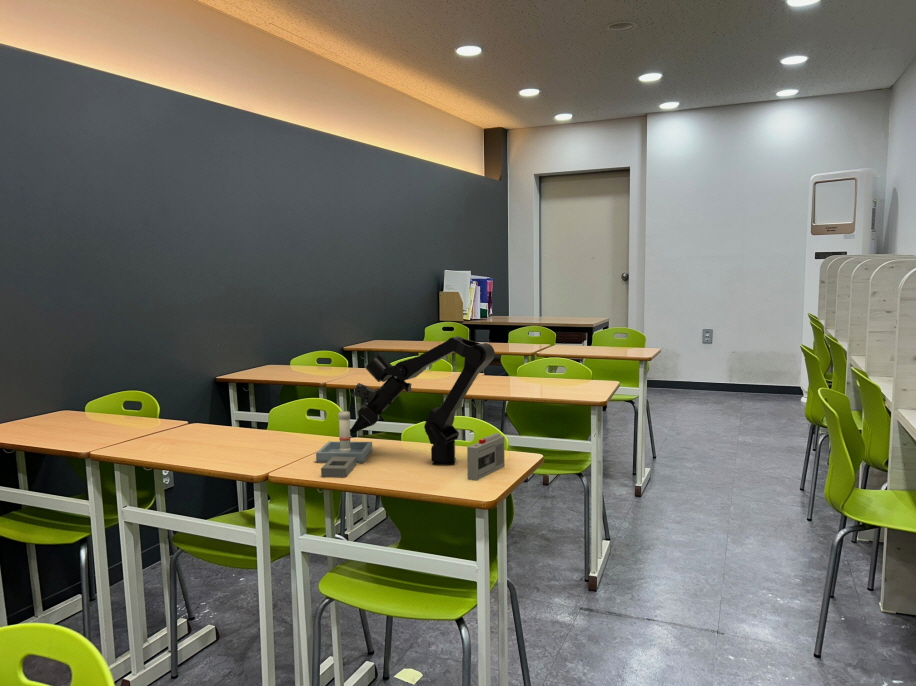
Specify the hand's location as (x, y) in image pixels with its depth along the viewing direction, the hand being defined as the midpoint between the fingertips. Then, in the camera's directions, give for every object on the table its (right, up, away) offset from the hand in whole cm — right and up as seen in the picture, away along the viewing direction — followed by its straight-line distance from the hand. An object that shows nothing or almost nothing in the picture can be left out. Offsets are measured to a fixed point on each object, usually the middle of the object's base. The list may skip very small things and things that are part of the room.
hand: (352, 429), depth 200 cm
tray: (-3, -9, +1) cm, 9 cm away
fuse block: (-2, -10, -14) cm, 17 cm away
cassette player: (+40, -10, -17) cm, 45 cm away
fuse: (-3, -8, +1) cm, 8 cm away
